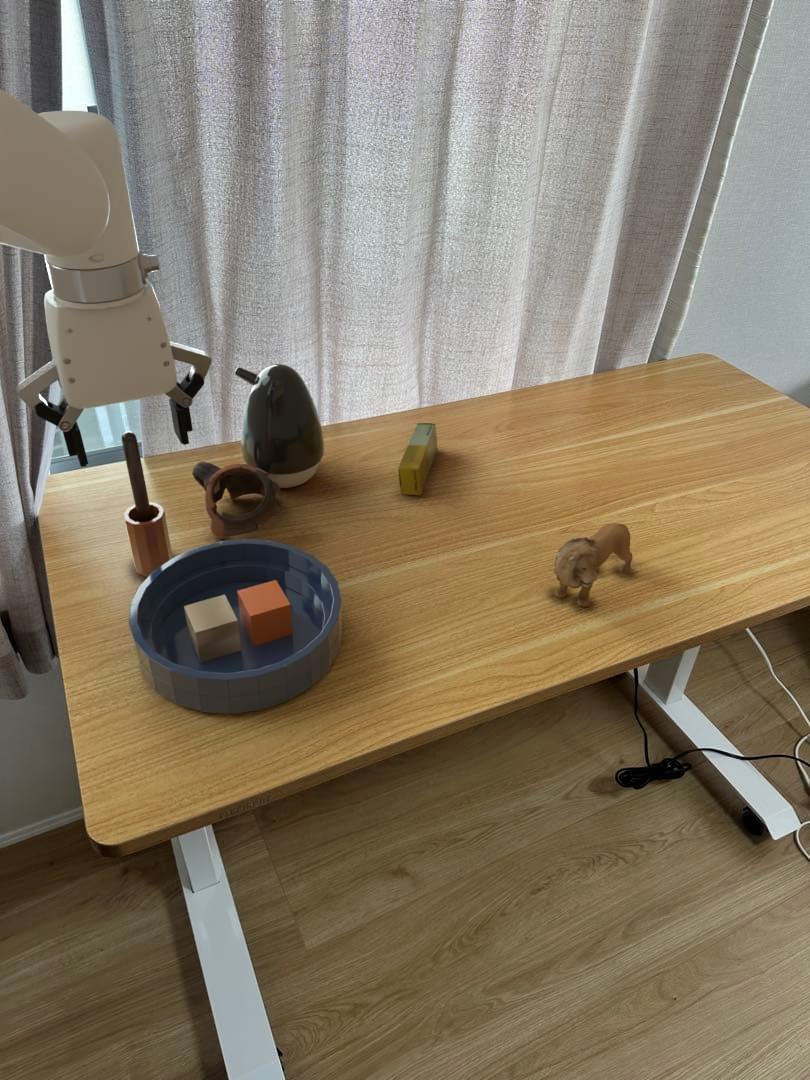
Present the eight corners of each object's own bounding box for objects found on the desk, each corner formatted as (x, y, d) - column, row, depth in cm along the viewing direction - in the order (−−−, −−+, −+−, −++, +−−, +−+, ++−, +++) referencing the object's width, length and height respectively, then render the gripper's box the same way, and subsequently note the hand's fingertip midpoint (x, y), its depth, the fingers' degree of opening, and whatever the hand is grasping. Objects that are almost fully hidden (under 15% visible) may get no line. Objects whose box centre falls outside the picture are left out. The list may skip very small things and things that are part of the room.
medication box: (418, 448, 109) (416, 421, 107) (437, 449, 109) (436, 422, 107) (399, 494, 100) (397, 466, 98) (421, 496, 99) (419, 467, 97)
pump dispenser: (258, 450, 107) (249, 343, 98) (334, 461, 106) (332, 353, 97) (230, 492, 99) (217, 379, 90) (311, 504, 98) (306, 391, 89)
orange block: (253, 646, 78) (250, 616, 75) (240, 620, 80) (237, 590, 78) (292, 634, 79) (290, 604, 77) (278, 609, 82) (276, 579, 80)
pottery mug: (300, 506, 98) (294, 476, 91) (257, 569, 95) (247, 544, 87) (218, 461, 100) (206, 428, 92) (173, 521, 97) (156, 492, 89)
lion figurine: (580, 633, 82) (596, 565, 76) (534, 611, 84) (546, 543, 79) (639, 562, 91) (657, 496, 86) (596, 544, 94) (611, 479, 88)
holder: (139, 581, 86) (128, 528, 81) (131, 559, 88) (120, 507, 84) (177, 571, 87) (168, 518, 83) (168, 550, 90) (158, 498, 86)
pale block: (200, 663, 76) (195, 632, 73) (189, 636, 79) (183, 605, 76) (241, 650, 77) (237, 620, 75) (229, 624, 80) (224, 594, 78)
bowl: (166, 747, 69) (157, 708, 66) (119, 607, 82) (109, 569, 79) (374, 675, 76) (374, 637, 73) (299, 557, 90) (297, 521, 87)
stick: (148, 566, 87) (121, 437, 77) (145, 559, 88) (118, 430, 78) (161, 563, 87) (136, 434, 77) (158, 555, 88) (133, 427, 78)
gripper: (186, 250, 74) (208, 413, 85) (-18, 275, 68) (34, 449, 78) (209, 277, 69) (230, 448, 80) (-9, 307, 63) (45, 489, 73)
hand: (133, 448), depth 79 cm, fingers open, 9 cm apart
